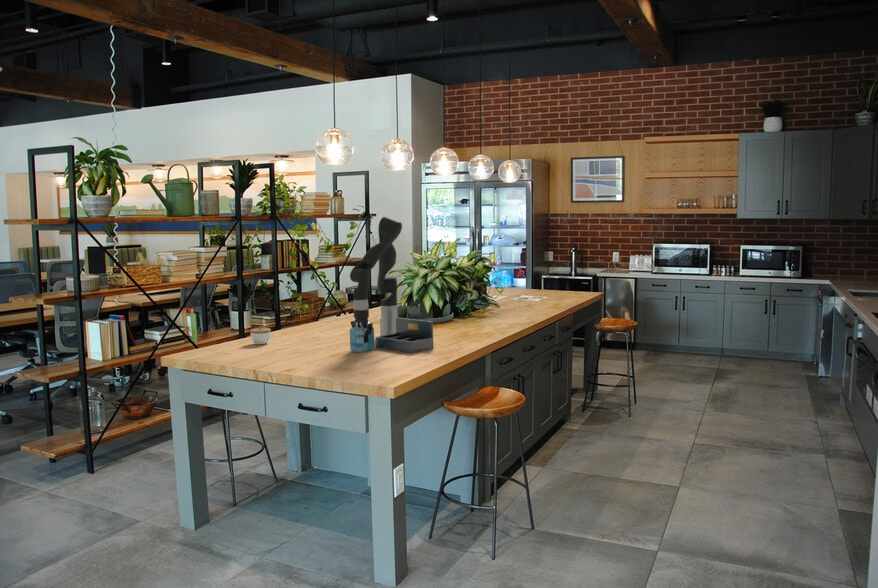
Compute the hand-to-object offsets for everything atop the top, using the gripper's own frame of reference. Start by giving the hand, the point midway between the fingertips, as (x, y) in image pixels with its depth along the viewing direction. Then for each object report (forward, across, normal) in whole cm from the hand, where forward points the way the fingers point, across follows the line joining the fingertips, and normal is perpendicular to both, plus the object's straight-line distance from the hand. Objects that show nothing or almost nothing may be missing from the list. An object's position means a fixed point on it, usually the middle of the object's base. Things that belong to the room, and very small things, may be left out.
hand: (362, 341), depth 351 cm
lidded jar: (+5, -60, -18) cm, 63 cm away
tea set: (+5, -44, +94) cm, 104 cm away
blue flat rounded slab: (+5, 0, 0) cm, 5 cm away
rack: (+4, +13, +17) cm, 22 cm away
